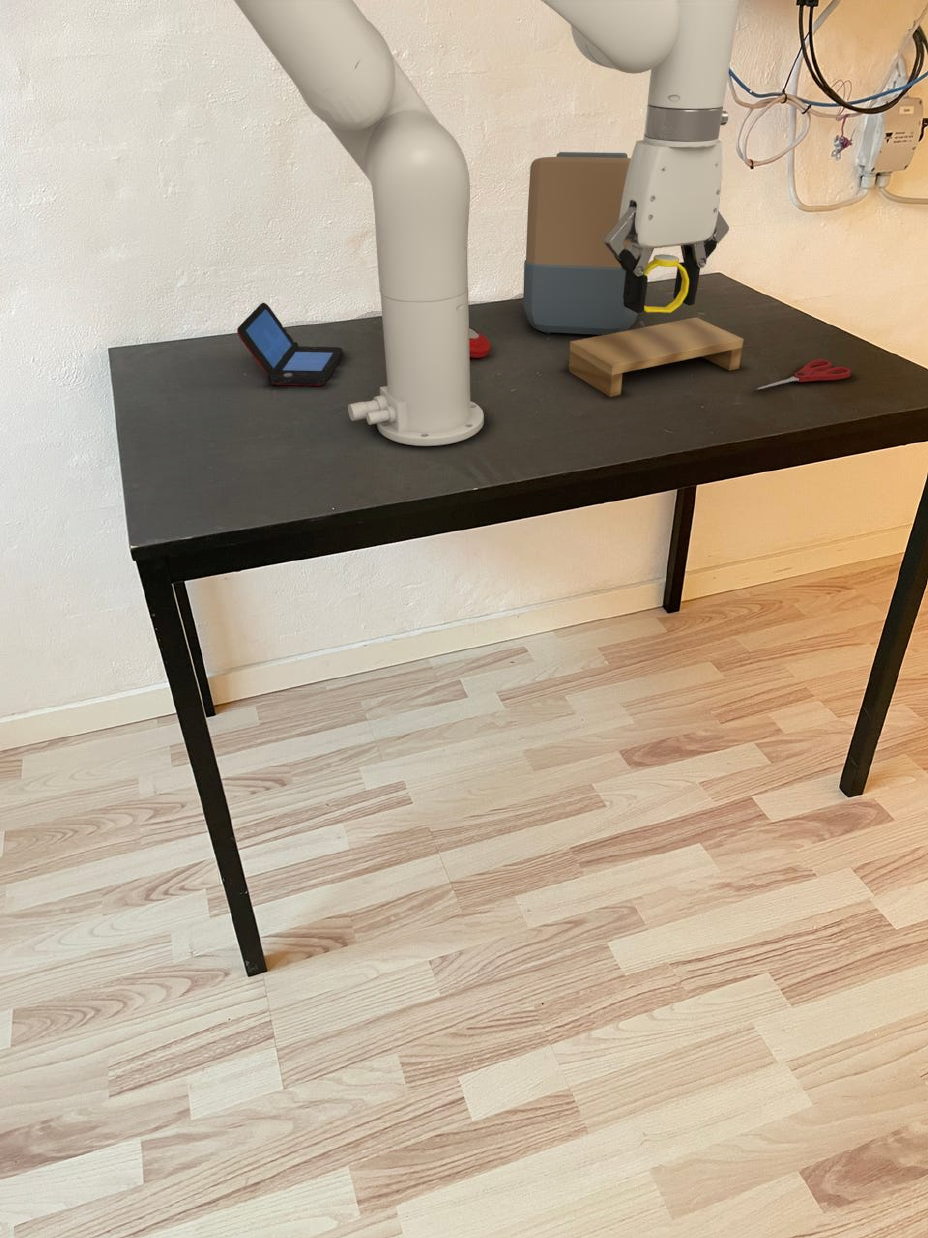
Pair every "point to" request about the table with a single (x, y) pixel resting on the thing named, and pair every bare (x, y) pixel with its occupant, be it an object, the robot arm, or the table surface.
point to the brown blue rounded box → (575, 244)
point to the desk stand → (650, 351)
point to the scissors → (816, 373)
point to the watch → (672, 262)
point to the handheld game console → (285, 351)
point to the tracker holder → (478, 344)
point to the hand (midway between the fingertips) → (658, 304)
